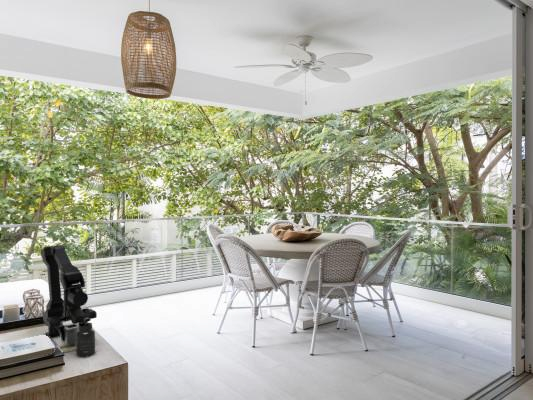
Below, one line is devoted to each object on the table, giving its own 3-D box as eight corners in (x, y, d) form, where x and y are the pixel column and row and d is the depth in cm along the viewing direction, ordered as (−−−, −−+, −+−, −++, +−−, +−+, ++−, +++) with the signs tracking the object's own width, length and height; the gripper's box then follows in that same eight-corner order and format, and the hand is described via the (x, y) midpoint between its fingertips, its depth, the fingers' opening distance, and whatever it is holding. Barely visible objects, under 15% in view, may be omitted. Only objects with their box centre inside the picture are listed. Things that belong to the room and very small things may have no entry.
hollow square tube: (60, 341, 174) (60, 326, 174) (76, 337, 179) (76, 322, 178) (67, 345, 170) (66, 329, 169) (83, 341, 174) (82, 326, 174)
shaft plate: (56, 348, 173) (55, 336, 173) (80, 341, 180) (80, 330, 180) (62, 353, 168) (62, 341, 168) (87, 346, 175) (87, 334, 175)
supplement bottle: (77, 352, 169) (76, 322, 169) (95, 349, 172) (95, 320, 171) (75, 358, 163) (75, 328, 163) (95, 356, 165) (94, 325, 165)
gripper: (55, 310, 161) (55, 350, 162) (102, 300, 175) (102, 337, 175) (44, 304, 169) (44, 342, 169) (90, 295, 182) (90, 331, 183)
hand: (71, 338), depth 174 cm, fingers closed on hollow square tube, 6 cm apart
